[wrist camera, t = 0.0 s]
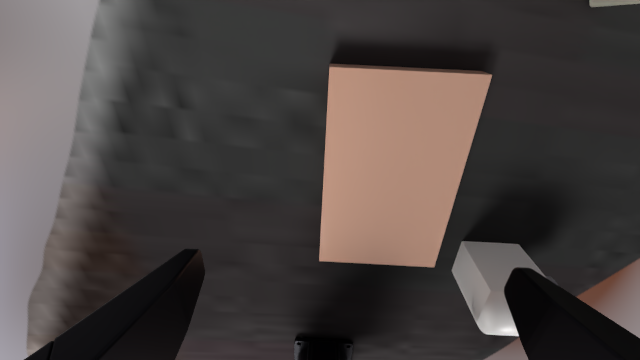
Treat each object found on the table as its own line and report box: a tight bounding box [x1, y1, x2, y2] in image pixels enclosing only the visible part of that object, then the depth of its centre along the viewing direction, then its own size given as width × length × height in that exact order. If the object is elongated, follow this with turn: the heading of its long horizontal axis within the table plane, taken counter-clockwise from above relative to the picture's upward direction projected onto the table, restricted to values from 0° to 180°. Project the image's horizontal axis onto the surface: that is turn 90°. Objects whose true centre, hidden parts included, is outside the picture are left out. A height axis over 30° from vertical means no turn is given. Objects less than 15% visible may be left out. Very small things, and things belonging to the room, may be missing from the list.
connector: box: [452, 241, 559, 336], centre depth 24 cm, size 4×6×7 cm, turn 88°
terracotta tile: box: [319, 64, 492, 267], centre depth 23 cm, size 16×10×2 cm, turn 178°
